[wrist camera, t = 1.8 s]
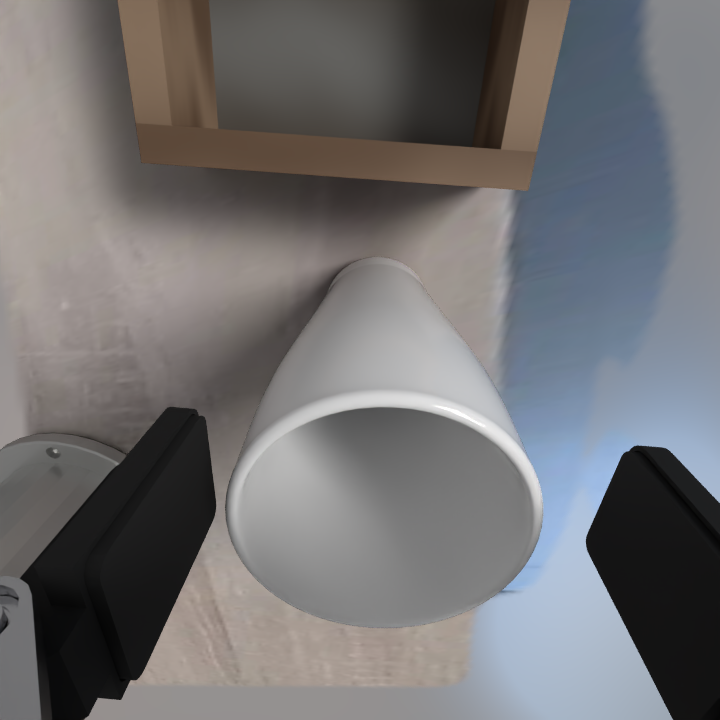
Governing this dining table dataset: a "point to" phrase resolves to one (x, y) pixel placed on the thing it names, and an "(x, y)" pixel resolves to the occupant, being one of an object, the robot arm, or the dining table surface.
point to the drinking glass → (382, 464)
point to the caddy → (345, 86)
